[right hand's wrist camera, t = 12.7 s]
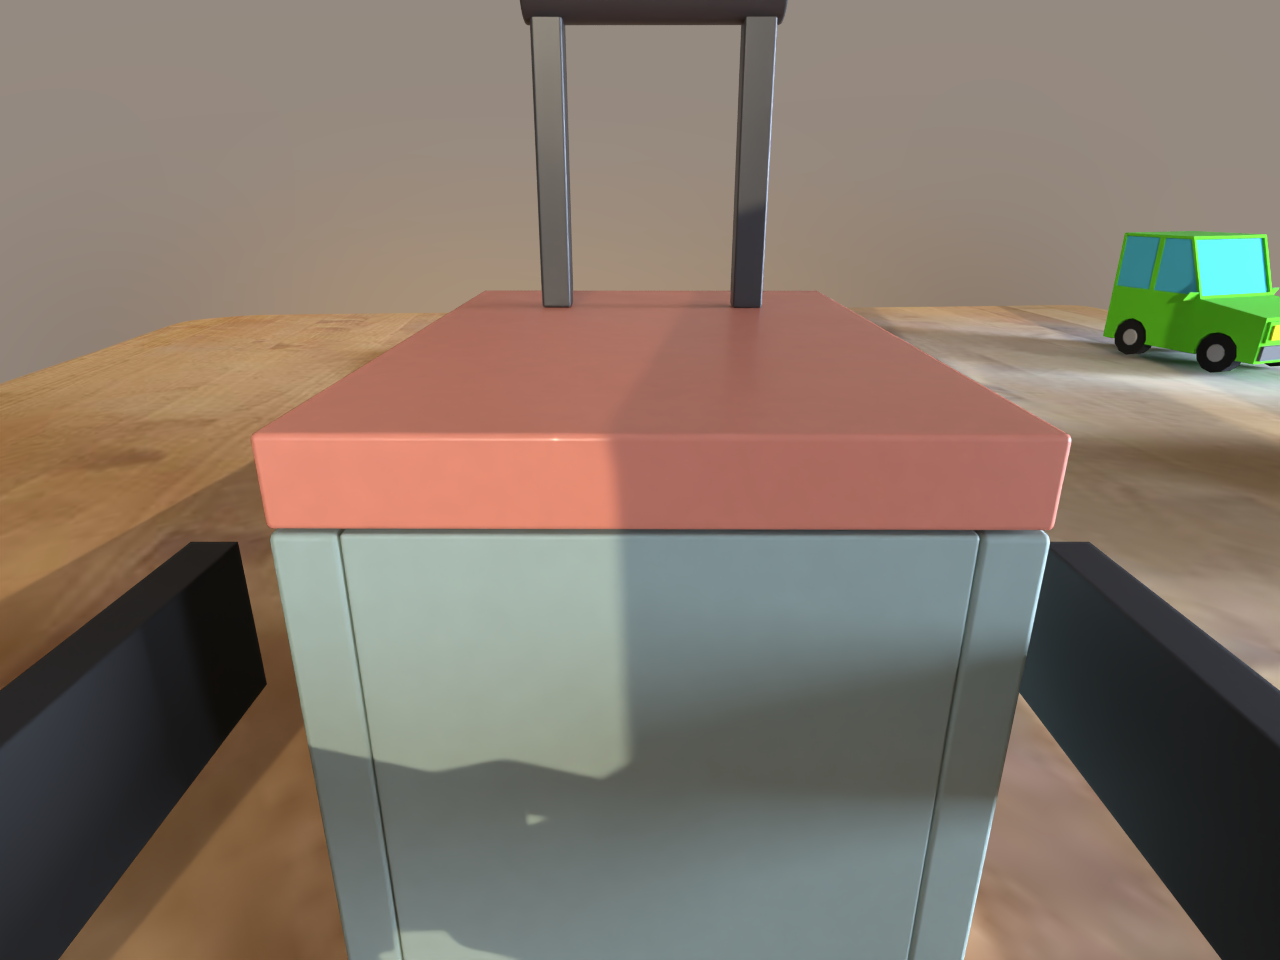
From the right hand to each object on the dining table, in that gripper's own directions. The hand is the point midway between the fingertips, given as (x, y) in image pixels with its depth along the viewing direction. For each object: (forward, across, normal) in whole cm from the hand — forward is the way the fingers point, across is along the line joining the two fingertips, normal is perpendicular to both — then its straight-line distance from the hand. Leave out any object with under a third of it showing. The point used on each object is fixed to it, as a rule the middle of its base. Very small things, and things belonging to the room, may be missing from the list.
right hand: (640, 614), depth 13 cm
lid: (+4, 0, +3) cm, 5 cm away
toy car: (+52, +47, -7) cm, 71 cm away
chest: (+4, 0, -7) cm, 8 cm away
